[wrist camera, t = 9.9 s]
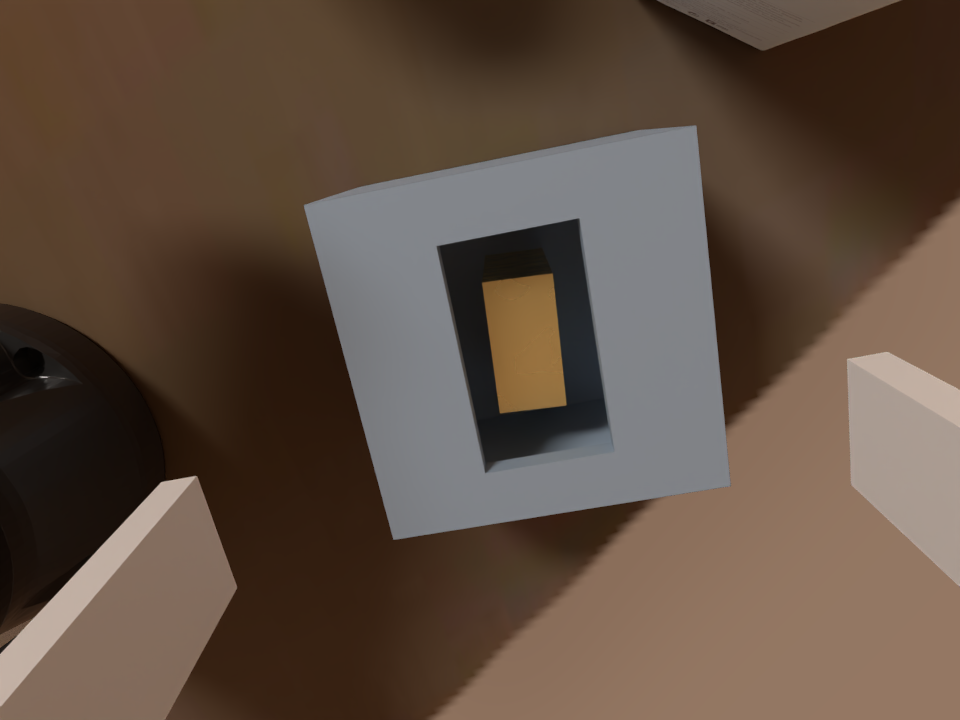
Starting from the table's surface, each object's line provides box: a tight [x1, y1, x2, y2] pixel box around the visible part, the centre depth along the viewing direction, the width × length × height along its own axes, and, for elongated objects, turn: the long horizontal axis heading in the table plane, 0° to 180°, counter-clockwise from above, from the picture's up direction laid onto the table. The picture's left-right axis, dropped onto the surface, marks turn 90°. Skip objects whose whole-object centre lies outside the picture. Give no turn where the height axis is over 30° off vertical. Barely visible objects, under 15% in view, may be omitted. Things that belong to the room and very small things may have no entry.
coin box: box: [304, 126, 731, 540], centre depth 27 cm, size 12×12×9 cm
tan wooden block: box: [482, 248, 567, 413], centre depth 28 cm, size 2×5×6 cm, turn 8°
